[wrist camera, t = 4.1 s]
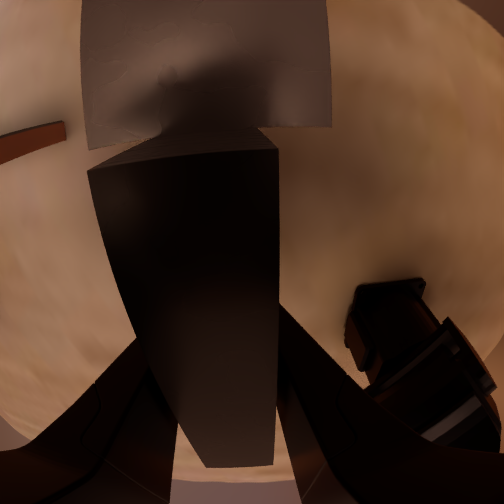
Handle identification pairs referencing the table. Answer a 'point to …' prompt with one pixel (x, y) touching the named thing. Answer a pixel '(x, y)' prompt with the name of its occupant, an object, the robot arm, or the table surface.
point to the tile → (30, 140)
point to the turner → (202, 193)
